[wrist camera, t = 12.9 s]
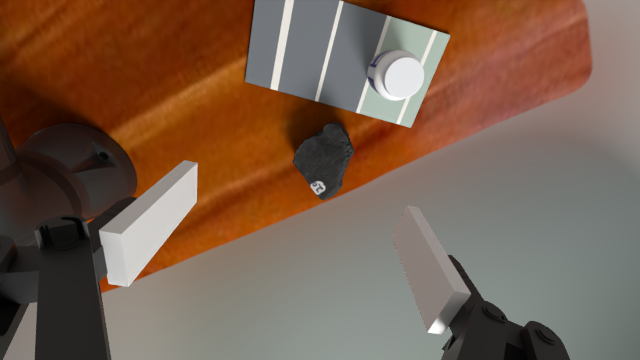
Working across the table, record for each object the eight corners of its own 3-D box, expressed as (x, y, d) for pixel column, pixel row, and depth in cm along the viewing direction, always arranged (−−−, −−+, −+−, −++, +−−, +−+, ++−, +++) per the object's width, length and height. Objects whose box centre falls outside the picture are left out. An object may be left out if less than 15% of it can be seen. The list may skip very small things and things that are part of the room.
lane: (245, 81, 36) (245, 81, 35) (259, -25, 31) (258, -26, 30) (410, 127, 38) (410, 127, 37) (449, 35, 33) (450, 35, 32)
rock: (371, 166, 41) (377, 182, 36) (325, 194, 43) (324, 213, 38) (334, 112, 38) (335, 121, 32) (287, 146, 40) (280, 160, 35)
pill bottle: (403, 94, 35) (425, 106, 28) (364, 92, 36) (375, 105, 28) (410, 50, 33) (436, 50, 25) (369, 49, 33) (381, 48, 25)
